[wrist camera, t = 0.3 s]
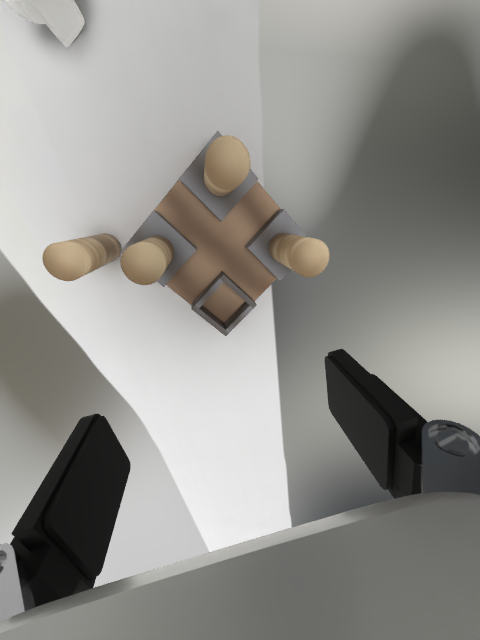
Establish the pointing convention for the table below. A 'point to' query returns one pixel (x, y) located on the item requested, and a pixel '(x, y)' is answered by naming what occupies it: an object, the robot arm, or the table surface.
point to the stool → (220, 238)
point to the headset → (52, 16)
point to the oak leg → (80, 256)
